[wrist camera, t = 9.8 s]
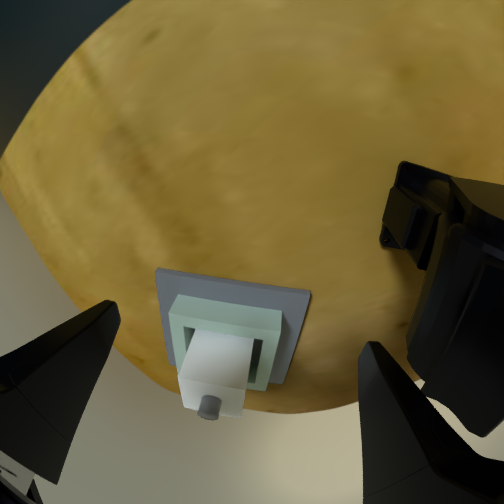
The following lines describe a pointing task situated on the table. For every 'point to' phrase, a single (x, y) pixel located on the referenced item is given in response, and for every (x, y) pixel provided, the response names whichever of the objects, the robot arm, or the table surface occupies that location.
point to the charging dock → (232, 319)
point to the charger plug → (215, 374)
